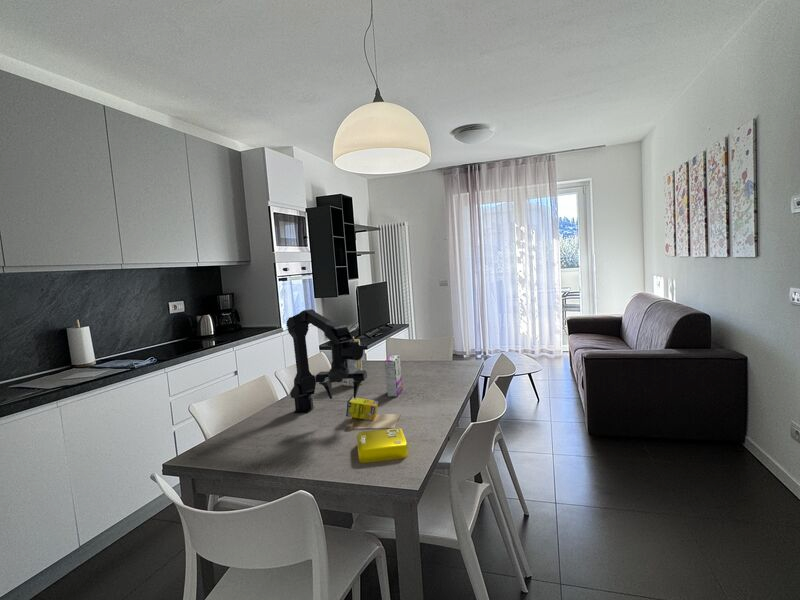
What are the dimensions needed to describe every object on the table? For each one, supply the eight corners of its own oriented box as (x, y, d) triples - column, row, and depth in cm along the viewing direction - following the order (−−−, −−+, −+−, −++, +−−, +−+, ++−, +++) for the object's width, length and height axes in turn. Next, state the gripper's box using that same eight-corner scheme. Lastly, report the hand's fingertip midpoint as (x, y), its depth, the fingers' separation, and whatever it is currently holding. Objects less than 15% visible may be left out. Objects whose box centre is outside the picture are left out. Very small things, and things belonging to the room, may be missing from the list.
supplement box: (347, 401, 162) (375, 406, 161) (351, 396, 168) (378, 400, 167) (345, 416, 163) (373, 421, 162) (349, 411, 169) (377, 415, 168)
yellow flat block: (357, 444, 143) (356, 430, 143) (402, 439, 145) (401, 425, 144) (359, 465, 128) (357, 449, 128) (409, 458, 130) (408, 443, 130)
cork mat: (350, 429, 156) (350, 428, 156) (360, 415, 170) (360, 414, 170) (394, 428, 154) (394, 427, 154) (400, 415, 167) (400, 414, 167)
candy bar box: (392, 389, 203) (389, 355, 202) (402, 389, 202) (400, 355, 201) (386, 397, 192) (384, 360, 191) (397, 396, 191) (395, 360, 190)
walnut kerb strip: (346, 430, 155) (345, 426, 155) (357, 414, 171) (357, 411, 171) (351, 430, 155) (351, 426, 155) (362, 414, 171) (361, 410, 171)
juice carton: (365, 383, 217) (361, 336, 216) (355, 387, 211) (351, 338, 209) (350, 381, 222) (347, 335, 221) (340, 385, 216) (337, 338, 214)
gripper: (308, 363, 155) (311, 406, 157) (358, 362, 152) (361, 405, 154) (318, 357, 166) (322, 396, 167) (365, 355, 163) (369, 395, 165)
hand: (343, 398), depth 163 cm, fingers open, 9 cm apart
